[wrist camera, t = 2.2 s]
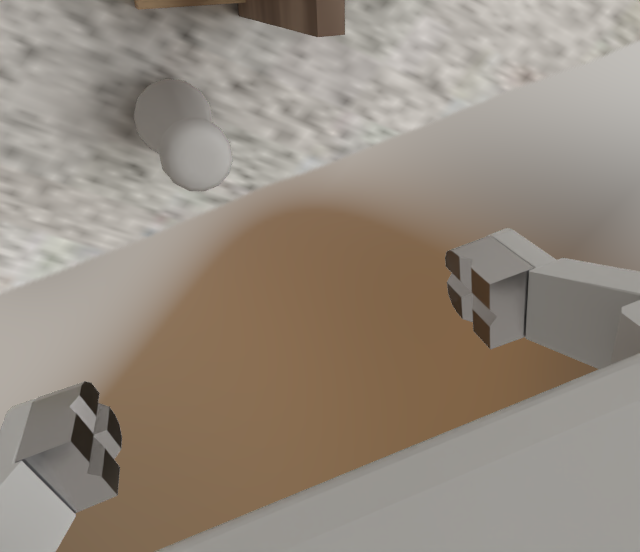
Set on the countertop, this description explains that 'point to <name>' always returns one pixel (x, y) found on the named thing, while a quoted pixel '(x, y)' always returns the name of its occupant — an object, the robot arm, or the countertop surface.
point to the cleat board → (277, 13)
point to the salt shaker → (183, 134)
